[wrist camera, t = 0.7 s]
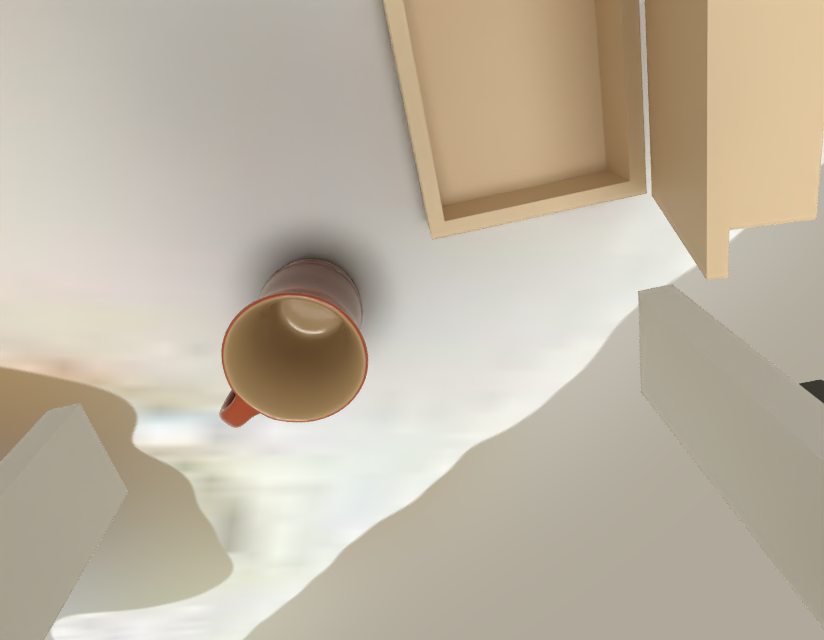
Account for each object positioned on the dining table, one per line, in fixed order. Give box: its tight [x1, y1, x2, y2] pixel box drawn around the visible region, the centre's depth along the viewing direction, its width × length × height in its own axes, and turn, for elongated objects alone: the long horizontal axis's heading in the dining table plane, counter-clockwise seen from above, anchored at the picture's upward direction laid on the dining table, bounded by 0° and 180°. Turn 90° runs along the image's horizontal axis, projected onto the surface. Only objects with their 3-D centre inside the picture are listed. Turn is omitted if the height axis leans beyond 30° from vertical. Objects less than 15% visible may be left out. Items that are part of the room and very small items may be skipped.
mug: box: [219, 259, 368, 428], centre depth 39 cm, size 12×9×10 cm
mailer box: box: [383, 0, 647, 240], centre depth 36 cm, size 16×14×5 cm
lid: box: [645, 0, 824, 280], centre depth 26 cm, size 16×14×4 cm
